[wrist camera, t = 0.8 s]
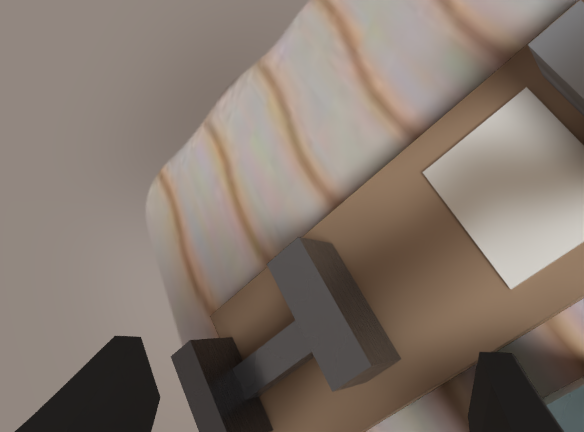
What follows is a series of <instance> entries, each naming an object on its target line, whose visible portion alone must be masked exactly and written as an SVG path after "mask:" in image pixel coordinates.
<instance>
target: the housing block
mask: <svg viewBox="0 0 584 432" xmlns="http://www.w3.org/2000/svg"><path fill="white" fill-rule="evenodd" d="M542 400H543V401H544V403H545V404H546V406H547V407H548V409H549V410H550V412H551V413H552V415H553V416H554V418H555V419H556V420H557V422H558V423H559V425H560V426H561V428H562V429H563V430H564V432H584V376H583V377H582V378H580V379H578V380H576V381H574V382H572V383H571V384H569V385H567V386H565V387H563V388H561V389H560V390H558V391H556V392H554V393H552V394H550V395H549V396H547V397H545V398H543V399H542Z"/></svg>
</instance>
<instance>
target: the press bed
mask: <svg viewBox="0 0 584 432" xmlns="http://www.w3.org/2000/svg"><path fill="white" fill-rule="evenodd" d="M302 238H307V239H313V240H318V241H323V242H328V243H332V244H333V245H334V247H335V249H336V250H337V252H338V254H339V255H340V257H341V259H342V260H343V262H344V264H345V265H346V267H347V269H348V270H349V272H350V274H351V275H352V277H353V279H354V280H355V282H356V284H357V285H358V287H359V289H360V290H361V292H362V294H363V295H364V297H365V299H366V301H367V302H368V304H369V306H370V307H371V309H372V311H373V312H374V314H375V316H376V317H377V319H378V321H379V322H380V324H381V326H382V327H383V329H384V331H385V332H386V334H387V336H388V337H389V339H390V341H391V342H392V344H393V346H394V347H395V349H396V351H397V352H398V354H399V356H400V357H401V360H400V361H398V362H397V363H395V364H394V365H392V366H391V367H389V368H388V369H386V370H385V371H383V372H382V373H380V374H378V375H377V376H375V377H374V378H372V379H371V380H369V381H368V382H366V383H364V384H360V385H356V386H353V387H349V388H345V389H342V390H338V391H334V392H332V390H331V388H330V386H329V384H328V382H327V380H326V378H325V376H324V374H323V373H322V371H321V369H320V367H319V365H318V363H317V361H316V359H315V357H313V358H312V359H310V360H309V361H308V362H306V363H305V364H303V365H302V366H301V367H299V368H298V369H296V370H295V371H294V372H292V373H291V374H290V375H288V376H287V377H285V378H284V379H283V380H281V381H280V382H278V383H277V384H276V385H274V386H273V387H272V388H270V389H269V390H267V391H266V392H265V393H263V394H262V395H260V396H259V398H260V400H261V402H262V405H263V407H264V409H265V411H266V414H267V416H268V418H269V420H270V423H271V425H272V427H273V429H274V430H273V431H272V432H365V431H367V430H368V429H370V428H372V427H373V426H375V425H376V424H378V423H380V422H381V421H383V420H385V419H386V418H388V417H390V416H391V415H393V414H395V413H396V412H398V411H399V410H401V409H403V408H404V407H406V406H408V405H409V404H411V403H413V402H414V401H416V400H417V399H419V398H421V397H422V396H424V395H426V394H427V393H429V392H431V391H432V390H434V389H436V388H437V387H439V386H440V385H442V384H444V383H445V382H447V381H449V380H450V379H452V378H454V377H455V376H457V375H459V374H460V373H462V372H463V371H465V370H467V369H468V368H470V367H472V366H473V365H475V364H477V362H478V357H479V352H496V351H498V350H500V349H501V348H503V347H504V346H506V345H508V344H509V343H511V342H513V341H514V340H516V339H518V338H519V337H521V336H522V335H524V334H526V333H527V332H529V331H531V330H532V329H534V328H536V327H537V326H539V325H541V324H542V323H544V322H545V321H547V320H549V319H550V318H552V317H554V316H555V315H557V314H559V313H560V312H562V311H564V310H565V309H567V308H568V307H570V306H572V305H573V304H575V303H577V302H578V301H580V300H582V299H583V298H584V0H578V1H577V2H576V3H575V4H574V5H573V6H571V7H570V8H569V9H568V10H567V11H566V12H564V13H563V14H562V15H561V16H560V17H559V18H557V19H556V20H555V21H554V22H553V23H551V24H550V25H549V26H548V27H547V28H546V29H544V30H543V31H542V32H541V33H540V34H539V35H537V36H536V37H535V38H534V39H533V40H532V41H530V42H529V43H528V44H527V45H526V46H525V47H523V48H522V49H521V50H520V51H519V52H518V53H516V54H515V55H514V56H513V57H512V58H511V59H509V60H508V61H507V62H506V63H505V64H504V65H502V66H501V67H500V68H499V69H498V70H497V71H495V72H494V73H493V74H492V75H491V76H490V77H488V78H487V79H486V80H485V81H484V82H483V83H481V84H480V85H479V86H478V87H477V88H476V89H474V90H473V91H472V92H471V93H470V94H469V95H467V96H466V97H465V98H464V99H463V100H462V101H460V102H459V103H458V104H457V105H456V106H455V107H453V108H452V109H451V110H450V111H449V112H448V113H446V114H445V115H444V116H443V117H442V118H441V119H439V120H438V121H437V122H436V123H435V124H434V125H432V126H431V127H430V128H429V129H428V130H427V131H425V132H424V133H423V134H422V135H421V136H420V137H418V138H417V139H416V140H415V141H414V142H413V143H411V144H410V145H409V146H408V147H407V148H406V149H404V150H403V151H402V152H401V153H400V154H399V155H397V156H396V157H395V158H394V159H393V160H392V161H390V162H389V163H388V164H387V165H386V166H385V167H383V168H382V169H381V170H380V171H379V172H378V173H376V174H375V175H374V176H373V177H372V178H371V179H369V180H368V181H367V182H366V183H365V184H364V185H362V186H361V187H360V188H359V189H358V190H357V191H355V192H354V193H353V194H352V195H351V196H350V197H348V198H347V199H346V200H345V201H344V202H343V203H341V204H340V205H339V206H338V207H337V208H336V209H334V210H333V211H332V212H331V213H330V214H329V215H327V216H326V217H325V218H324V219H323V220H322V221H320V222H319V223H318V224H317V225H316V226H315V227H313V228H312V229H311V230H310V231H309V232H308V233H306V234H305V235H304V236H303V237H302ZM210 317H211V319H212V321H213V324H214V326H215V328H216V331H217V333H218V335H219V338H226V337H233V339H234V342H235V344H236V346H237V348H238V351H239V353H240V355H241V357H242V360H245V359H246V358H247V357H248V356H250V355H251V354H252V353H254V352H255V351H256V350H258V349H259V348H260V347H261V346H263V345H264V344H265V343H267V342H268V341H269V340H270V339H272V338H273V337H274V336H276V335H277V334H278V333H279V332H281V331H282V330H283V329H285V328H286V327H287V326H289V325H290V324H291V323H292V322H294V321H295V318H294V316H293V314H292V312H291V310H290V308H289V307H288V305H287V303H286V301H285V299H284V297H283V295H282V293H281V291H280V289H279V287H278V285H277V283H276V281H275V279H274V277H273V275H272V274H271V272H270V270H269V268H268V267H267V268H266V269H264V270H263V271H262V272H261V273H260V274H259V275H257V276H256V277H255V278H254V279H253V280H252V281H250V282H249V283H248V284H247V285H246V286H245V287H243V288H242V289H241V290H240V291H239V292H238V293H236V294H235V295H234V296H233V297H232V298H231V299H229V300H228V301H227V302H226V303H225V304H224V305H222V306H221V307H220V308H219V309H218V310H217V311H215V312H214V313H213V314H212V315H211V316H210Z"/></svg>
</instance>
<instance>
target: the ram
mask: <svg viewBox="0 0 584 432" xmlns="http://www.w3.org/2000/svg"><path fill="white" fill-rule="evenodd" d="M267 266H268V268H269V270H270V272H271V274H272V275H273V277H274V279H275V281H276V283H277V285H278V287H279V289H280V291H281V293H282V295H283V297H284V299H285V301H286V303H287V305H288V307H289V308H290V310H291V312H292V314H293V316H294V318H295V321H294V322H292V323H291V324H290V325H289V326H287V327H286V328H285V329H283V330H282V331H281V332H279V333H278V334H277V335H276V336H274V337H273V338H272V339H270V340H269V341H268V342H267V343H265V344H264V345H263V346H261V347H260V348H259V349H258V350H256V351H255V352H254V353H252V354H251V355H250V356H248V357H247V358H246V359H245V360H242V357H241V355H240V353H239V351H238V348H237V346H236V344H235V342H234V339H233V337H226V338H214V339H201V340H190V341H189V342H187V343H186V344H185V345H184V346H183V347H182V348H181V349H179V350H178V351H177V352H176V353H175V354H173V355H172V356H171V358H172V361H173V364H174V366H175V369H176V372H177V374H178V377H179V380H180V382H181V385H182V387H183V390H184V393H185V395H186V398H187V401H188V403H189V406H190V409H191V411H192V414H193V416H194V419H195V422H196V425H197V427H198V430H199V432H272V431H273V430H274V429H273V427H272V425H271V423H270V420H269V418H268V416H267V414H266V411H265V409H264V407H263V405H262V402H261V400H260V398H259V396H260V395H262V394H263V393H265V392H266V391H267V390H269V389H270V388H272V387H273V386H274V385H276V384H277V383H278V382H280V381H281V380H283V379H284V378H285V377H287V376H288V375H290V374H291V373H292V372H294V371H295V370H296V369H298V368H299V367H301V366H302V365H303V364H305V363H306V362H308V361H309V360H310V359H312V358H313V357H315V359H316V361H317V363H318V365H319V367H320V369H321V371H322V373H323V374H324V376H325V378H326V380H327V382H328V384H329V386H330V388H331V390H332V392H334V391H338V390H342V389H345V388H349V387H353V386H356V385H360V384H364V383H366V382H368V381H369V380H371V379H372V378H374V377H375V376H377V375H378V374H380V373H382V372H383V371H385V370H386V369H388V368H389V367H391V366H392V365H394V364H395V363H397V362H398V361H400V360H401V357H400V356H399V354H398V352H397V351H396V349H395V347H394V346H393V344H392V342H391V341H390V339H389V337H388V336H387V334H386V332H385V331H384V329H383V327H382V326H381V324H380V322H379V321H378V319H377V317H376V316H375V314H374V312H373V311H372V309H371V307H370V306H369V304H368V302H367V301H366V299H365V297H364V295H363V294H362V292H361V290H360V289H359V287H358V285H357V284H356V282H355V280H354V279H353V277H352V275H351V274H350V272H349V270H348V269H347V267H346V265H345V264H344V262H343V260H342V259H341V257H340V255H339V254H338V252H337V250H336V249H335V247H334V245H333V244H332V243H328V242H323V241H318V240H313V239H307V238H302V237H298V238H297V239H295V240H294V241H293V242H292V243H291V244H290V245H289V246H287V247H286V248H285V249H284V250H283V251H282V252H280V253H279V254H278V255H277V256H276V257H275V258H273V259H272V260H271V261H270V262H269V263H268V264H267Z"/></svg>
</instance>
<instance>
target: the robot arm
mask: <svg viewBox="0 0 584 432" xmlns="http://www.w3.org/2000/svg"><path fill="white" fill-rule="evenodd" d="M159 400H160V395H159V392H158V389H157V386H156V383H155V380H154V377H153V373H152V370H151V367H150V364H149V361H148V358H147V355H146V352H145V349H144V345H143V343H142V339H141V337H130V336H129V337H128V336H114V338H113V339H111V340H110V342H108V343H107V344H106V345H105V346H104V347H103V348H102V349H101V350H100V351H99V352H98V353H97V354H96V355H95V356H94V357H93V358H92V359H91V360H90V361H89V362H88V363H87V364H86V365H85V366H84V367H83V368H82V369H81V370H80V371H79V372H78V373H77V374H76V375H74V376H73V378H71V379H70V380H69V381H68V382H67V383H66V384H65V385H64V386H63V387H62V388H61V389H60V390H59V391H58V392H57V393H56V394H55V395H54V396H53V397H52V398H51V399H50V400H49V401H48V402H46V403H45V404H44V406H42V407H41V408H40V409H39V410H38V411H37V412H36V413H35V414H34V415H33V416H32V417H31V418H29V419H28V420H27V421H26V422H25V423H24V424H23V425H22V426H21V427H19V428H18V429H17V430H16V431H15V432H151V430H152V426H153V423H154V419H155V415H156V412H157V408H158V404H159ZM468 421H469V429H470V432H564V430H563V429H562V428H561V426H560V425H559V423H558V422H557V420H556V419H555V418H554V416H553V415H552V413H551V412H550V410H549V409H548V407H547V406H546V404H545V403H544V401H543V400H542V398H541V397H540V395H539V394H538V392H537V391H536V389H535V388H534V386H533V384H532V383H531V381H530V380H529V378H528V376H527V375H526V373H525V372H524V370H523V368H522V367H521V365H520V363H519V362H518V360H517V358H516V357H515V356H514V355H513V354H512V353H498V352H479V357H478V362H477V368H476V374H475V379H474V385H473V391H472V396H471V402H470V408H469V413H468Z"/></svg>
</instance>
